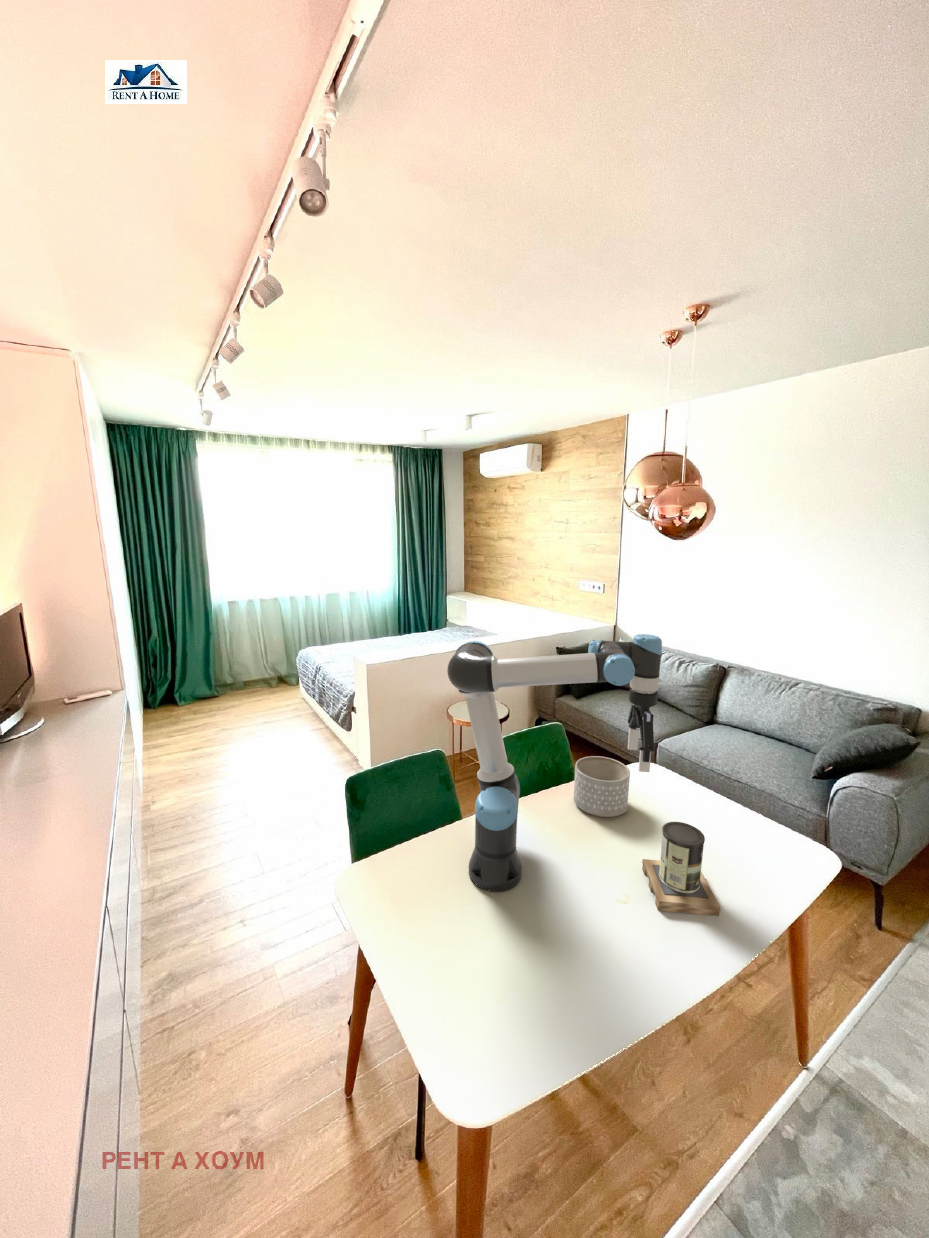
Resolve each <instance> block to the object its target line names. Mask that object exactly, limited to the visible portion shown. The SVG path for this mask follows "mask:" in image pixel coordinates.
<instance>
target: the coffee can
mask: <svg viewBox="0 0 929 1238" xmlns="http://www.w3.org/2000/svg"><path fill="white" fill-rule="evenodd" d="M661 828H662V829H661V831H662V835H661V836H662V837H661V846H660V870H659V878H660V879H661V881H662V882H663V883H664V884H665V885H666V886H667V887H669V888H670V889H672V890H675V891H677V892H681V893H694V892H696V891H698V890H699V888H700V876H701V872H702V863H703V853H704V846H705V845H704V844H705V842H706V841H705V840H706V838H705V835H704V834H703V832H702V831H701V830H700V829H699V828H697V827H695V826H693V825H691V824H688V823H686V822H683V821H682V822H680V821H668V822H665V823H664V824H663V825H662V827H661Z"/></svg>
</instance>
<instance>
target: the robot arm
mask: <svg viewBox="0 0 929 1238" xmlns="http://www.w3.org/2000/svg"><path fill="white" fill-rule="evenodd" d="M662 648H663V640H662V638H661V637H659V636H658V635H654V634H649V633H648V634H645V633H643V634H642V633H641V634H640V633H639V634H635V635H634V636H633V639H632V641H617V640H616V641H615V640H603V639H600V640H591V641H589V643H588V649H587V652H585V653H573V654H560V655H559V654H557V655H542V656H541V655H539V656H526V657H511V658H507V657H506V658H498V657H496V656H495V655H494V653H493V651H492V649H491V648H490V647H489V646H488V645H487V644H486V643H484V642H482V641H479V640H471V641H467V642H465V643H463V644H461V645H460V646H459V647H457V649H456V651H455V653H454V654H453V655H452V657H451V658H450V660H449V661H448V663H447V669H446V670H447V676H448V679H449V682H450V683H451V684H452V685H453V686H454V687H455V688H456V689H457V690H458V692H459V694H462V695H463V696H464V697H465V701H466V703H465V704H466V707H467V711H468V716H469V721H470V726H471V730H472V736H473V740H474V745H475V750H476V754H477V758H478V762H479V767H480V768H479V769H478V771H477V773H476V778H477V782H478V787H479V792H480V793H478V795H477V797H476V799H475V805H474V813H475V827H474V828H475V829H474V832H475V834H474V835H475V836H474V842H475V843H474V849H473V850H472V853H471V857H470V858H469V862H468V876H470V877H469V879H470V878H471V879H472V880H473V882H474V883H476V884H477V885H478V886H480V887H482V888H483V889H482V888H481V889H482V890H484V889H486V890H485V891H487V890H490V891H489V892H495V893H496V892H506V891H509V890H512V889H513V888H515V887H516V886H517V885H519V883H520V881H521V879H522V871H523V870H522V863H521V860H520V857H519V853H518V851H517V830H518V829H517V827H518V826H517V825H518V814H519V802H520V801H519V800H520V796H521V787H520V786H521V785H520V782H519V778H518V776H517V775H516V772H515V767H514V765H513V764H511V763H510V762H508V757H507V752H506V748H505V743H504V738H503V733H502V728H501V723H500V718H499V714H498V709H497V704H496V698H495V692H496V693H497V691H498V690H499V689H500V688H514V687H515V688H516V687H533V686H534V687H535V686H550V685H551V686H553V685H568V684H569V685H571V684H586V683H589V684H591V683H603V682H604V683H607V682H608V683H609V684H612V685H614V686H618V687H621V686H626V685H628V684H629V687H630V688H629V692H628V701H629V703H631V705H630V710H629V713H628V719H627V724H628V727H629V728H628V741H627V750H630V751H638V750H639V761H638V772H639V773H640V772H641V773H643V772H644V773H650V772H651V771H650V768H651V757H652V752H653V753H654V752H655V738H654V737H655V736H654V714H653V713H652V712H651V710H650V708H651V707H655V706H656V705H657V704H658V697H659V693H658V690H659V686H660V685H659V683H661V681H662V680H661V678H660V671H661V665H662V662H661V661H662V655H663V653H662V652H663V649H662ZM639 736H640V745H641V746H640V747H639V748H638V745H639ZM471 879H470V880H471ZM472 880H471V881H472ZM473 882H472V883H473ZM474 883H473V884H474ZM477 885H476V886H477ZM478 886H477V887H478ZM480 887H479V888H480Z"/></svg>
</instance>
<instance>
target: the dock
mask: <svg viewBox="0 0 929 1238" xmlns="http://www.w3.org/2000/svg"><path fill="white" fill-rule="evenodd" d="M641 864H642V866H641V869H642V872H643V876H647V878H648V888H649V891H650V892H651V893H654V894H653V895H654V897H655V902H654V904H655V906H656V909H657V911H661V912H670V913H671V912H673V913H684V914H694V915H704V916H705V915H706V916H715V917H719V916H720V911H721V908H722V906H721V904H720V903H719V901H718V899H717V898H716V895H715V893H714V892H713V890H712V889H711V887H710V885H709V883H708V881H707V879H706V877H705V876H704V873H703V872H702V871H701V876H700V888H699V890H698V891H696V892H694V893H681V892H677V891H675V890H672V889H670V888H669V887H667V886H666V885H665V884H664V883H663V882H662V881H661V879H660V878H659V870H660V860H658V859H647V858H643V859H642V862H641Z"/></svg>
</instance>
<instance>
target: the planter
mask: <svg viewBox="0 0 929 1238" xmlns="http://www.w3.org/2000/svg"><path fill="white" fill-rule="evenodd" d="M630 777H631V771H630V769H629V768H628V766H627V765H625V764H624V763H623V762H622V761H619V760H617V759H614V758H612V757H611V758H610V757H606V756H599V755H597V756H596V755H595V756H594V755H592V756H591V755H590V756H585V757H582V758H579V759H578V760H577V761H576V762H575V765H574V781H573V783H574V784H573V801H574V803H575V805H576V806H577V807H578V808H580V810H583V812H586V813H587V814H590V815H591V816H595V817H599V818H600V817H601V818H612V817H617V816H620V815H622V814H624V813H625V812H626V811H627V810H628V806H629V805H628V804H629V802H628V801H629V791H630V781H631V780H630Z"/></svg>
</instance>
